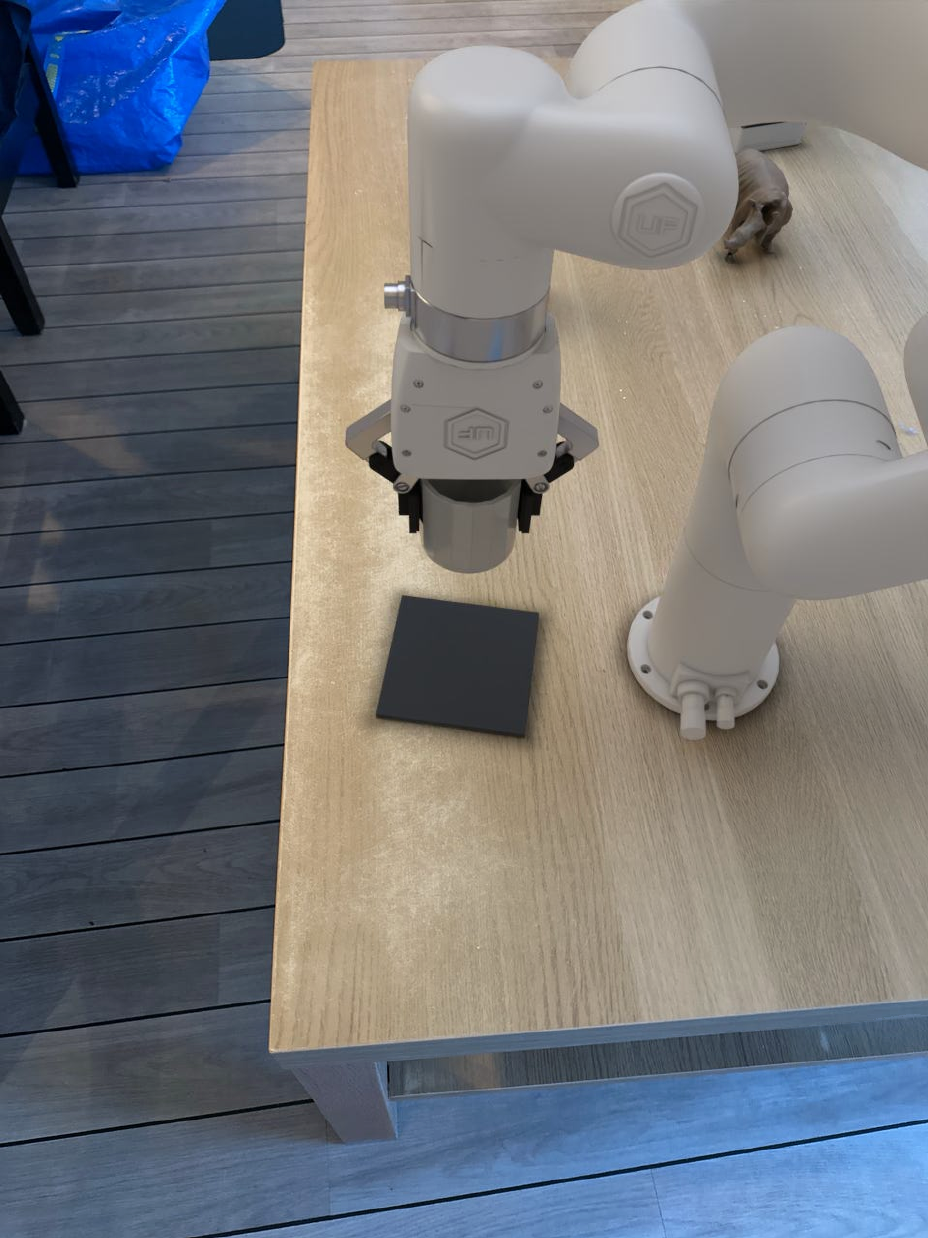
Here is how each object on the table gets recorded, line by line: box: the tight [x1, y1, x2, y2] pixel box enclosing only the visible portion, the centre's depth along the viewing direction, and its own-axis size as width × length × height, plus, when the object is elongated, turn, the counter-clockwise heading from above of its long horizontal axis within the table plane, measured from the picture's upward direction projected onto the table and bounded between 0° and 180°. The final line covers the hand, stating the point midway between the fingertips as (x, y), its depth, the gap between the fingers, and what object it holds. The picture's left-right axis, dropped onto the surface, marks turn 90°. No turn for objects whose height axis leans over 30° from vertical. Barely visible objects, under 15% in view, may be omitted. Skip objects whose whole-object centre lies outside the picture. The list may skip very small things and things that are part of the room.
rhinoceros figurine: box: [722, 148, 794, 264], centre depth 112 cm, size 8×14×15 cm
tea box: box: [728, 122, 807, 155], centre depth 125 cm, size 15×10×15 cm
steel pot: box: [419, 478, 522, 575], centre depth 66 cm, size 7×7×7 cm
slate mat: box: [375, 594, 540, 739], centre depth 80 cm, size 12×12×1 cm
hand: (468, 516), depth 67 cm, fingers closed on steel pot, 7 cm apart
